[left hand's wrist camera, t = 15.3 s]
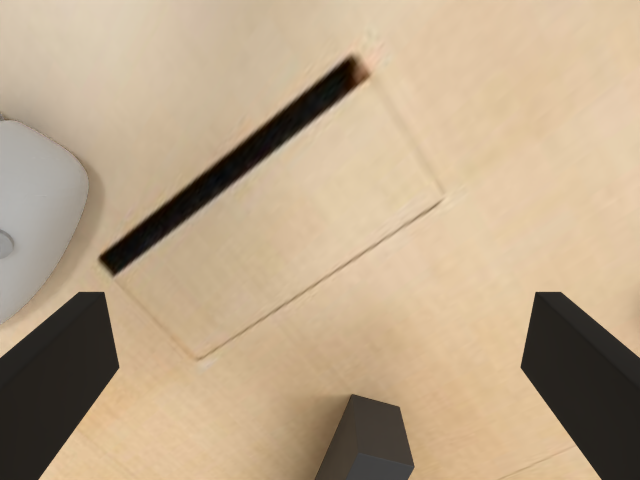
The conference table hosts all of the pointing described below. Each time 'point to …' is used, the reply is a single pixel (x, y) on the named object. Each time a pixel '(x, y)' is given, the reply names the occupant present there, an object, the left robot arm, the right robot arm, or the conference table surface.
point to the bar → (368, 444)
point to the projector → (34, 210)
